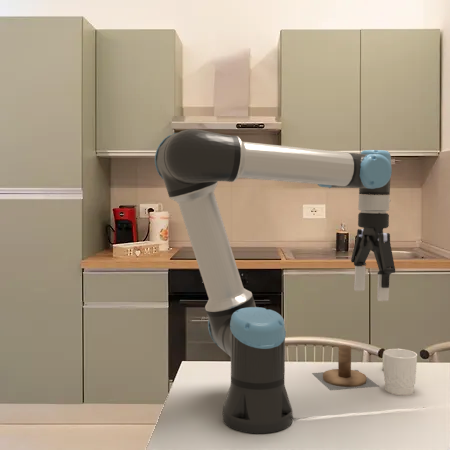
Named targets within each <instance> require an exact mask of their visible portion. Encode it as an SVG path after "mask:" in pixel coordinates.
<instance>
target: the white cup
mask: <svg viewBox="0 0 450 450" xmlns="http://www.w3.org/2000/svg"><path fill="white" fill-rule="evenodd" d="M383 356H384V371H383V377H384V390H385V391H386V392H387V393H389V394H392V395H397V396H410V395H413V394H414V393H415V384H416V378H417V377H416V375H417V364H418V363H417V362H418V353H416V352H415V351H412V350H410V349H404V348H389V349H385V350H383V353H382V357H383Z"/></svg>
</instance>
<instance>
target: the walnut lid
mask: <svg viewBox="0 0 450 450" xmlns="http://www.w3.org/2000/svg"><path fill="white" fill-rule="evenodd" d="M337 357H338V361H337V362H338V366H337V368H332V369H328V370H325V371H324V373H323V380H324V381H325V382H327V383H329V384H332V385H335V386H342V387H356V386H361V385H363V384H365V383H366V377H367V375H366V374H365V373H364V372H362V371H359V370H358V371H355V370H356V369H352V346H350V345H345V344H344V345H338V356H337Z"/></svg>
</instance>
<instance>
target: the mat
mask: <svg viewBox="0 0 450 450" xmlns="http://www.w3.org/2000/svg"><path fill="white" fill-rule="evenodd" d="M354 370H355V371H359V370H358V369H354ZM324 372H325V371H324ZM324 372H321V371H320V372H312V373H311V374H312V375H313V376H314V377H315V378H316V379H317V380H318V381H319V382H320V383H322V384H323V385H324V386H325V387H326V388H327V389H328V390H329V391H340V390H351V389H362V388H364V389H365V388H376V387H377V388H378V387H379V388H380V385H379V384H377V383H376V382H374V381H373V380H372V379H371V378H369V377H368V376H366V383H365V384H363V385H361V386H356V387H342V386H335V385H332V384H329V383H327V382H325V381H324V380H323V373H324Z"/></svg>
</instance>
